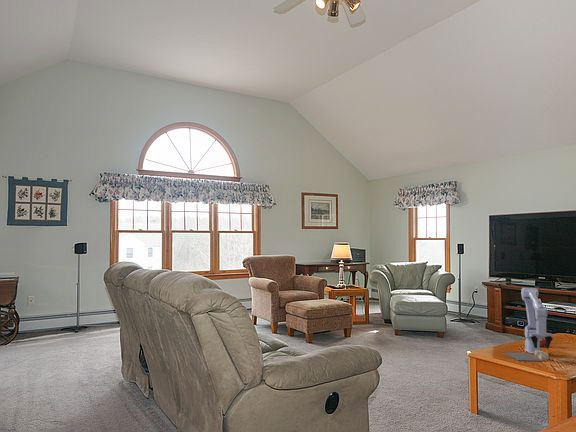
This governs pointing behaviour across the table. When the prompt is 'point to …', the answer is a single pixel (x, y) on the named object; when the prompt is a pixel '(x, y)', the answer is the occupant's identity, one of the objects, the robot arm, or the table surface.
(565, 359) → the table surface
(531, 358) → the charcoal rubber mat
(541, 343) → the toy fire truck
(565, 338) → the table surface
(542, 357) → the birch card box
